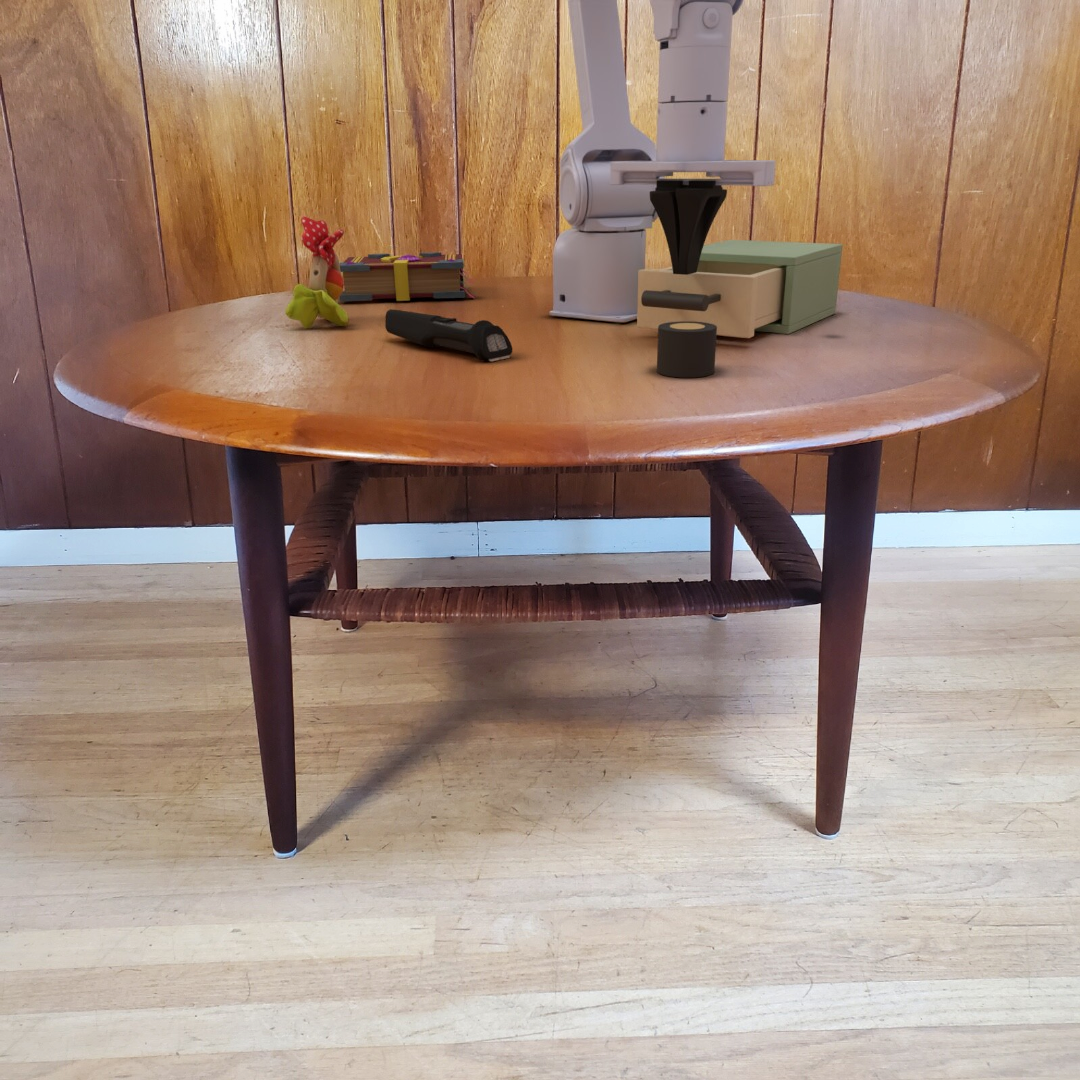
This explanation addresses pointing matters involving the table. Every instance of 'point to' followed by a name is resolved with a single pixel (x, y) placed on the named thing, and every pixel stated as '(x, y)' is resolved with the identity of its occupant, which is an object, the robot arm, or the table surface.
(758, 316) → the drawer
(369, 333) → the table surface
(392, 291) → the decorative book
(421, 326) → the electric trimmer
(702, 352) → the dark grey cylinder
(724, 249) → the cabinet
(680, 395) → the table surface
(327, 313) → the bird rattle
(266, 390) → the table surface
